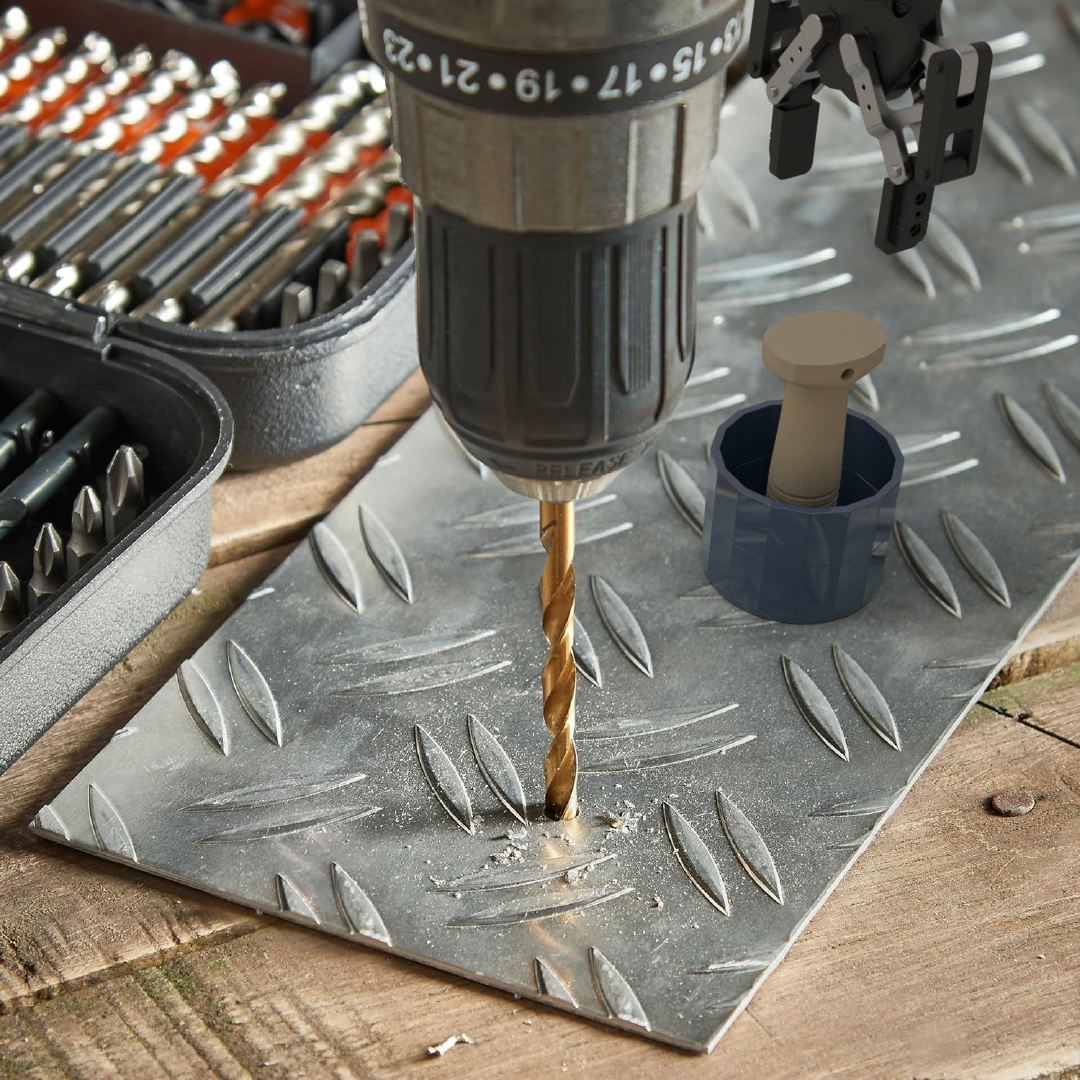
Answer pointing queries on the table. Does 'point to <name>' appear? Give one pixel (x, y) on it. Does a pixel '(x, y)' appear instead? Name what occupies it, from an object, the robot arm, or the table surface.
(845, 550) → the pot
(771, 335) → the handle
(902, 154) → the robot arm
